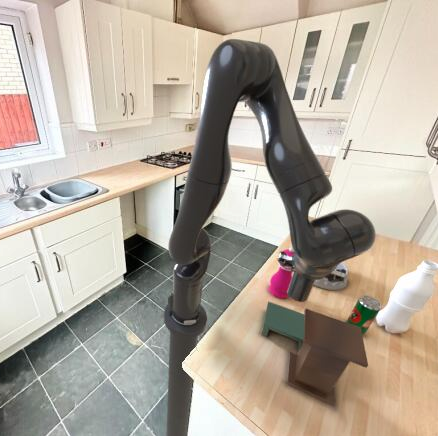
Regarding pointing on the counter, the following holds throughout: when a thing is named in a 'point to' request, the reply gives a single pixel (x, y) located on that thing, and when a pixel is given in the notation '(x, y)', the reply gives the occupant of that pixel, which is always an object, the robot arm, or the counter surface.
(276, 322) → the low shelf
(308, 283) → the spice jar
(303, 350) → the wooden pedestal table
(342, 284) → the dog bowl
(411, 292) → the water bottle
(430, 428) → the counter surface
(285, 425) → the counter surface
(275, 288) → the pepper mill
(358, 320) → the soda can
